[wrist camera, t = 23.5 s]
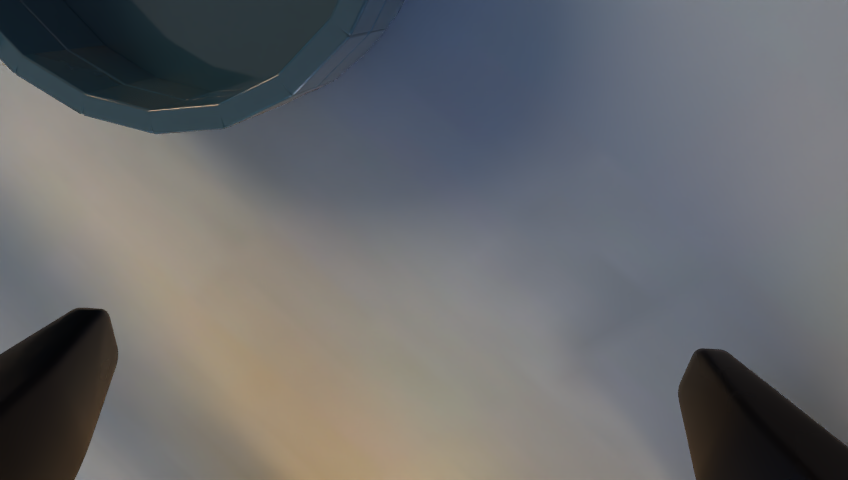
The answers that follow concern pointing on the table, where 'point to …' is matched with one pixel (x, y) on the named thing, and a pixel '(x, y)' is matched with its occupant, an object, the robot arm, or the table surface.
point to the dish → (186, 54)
